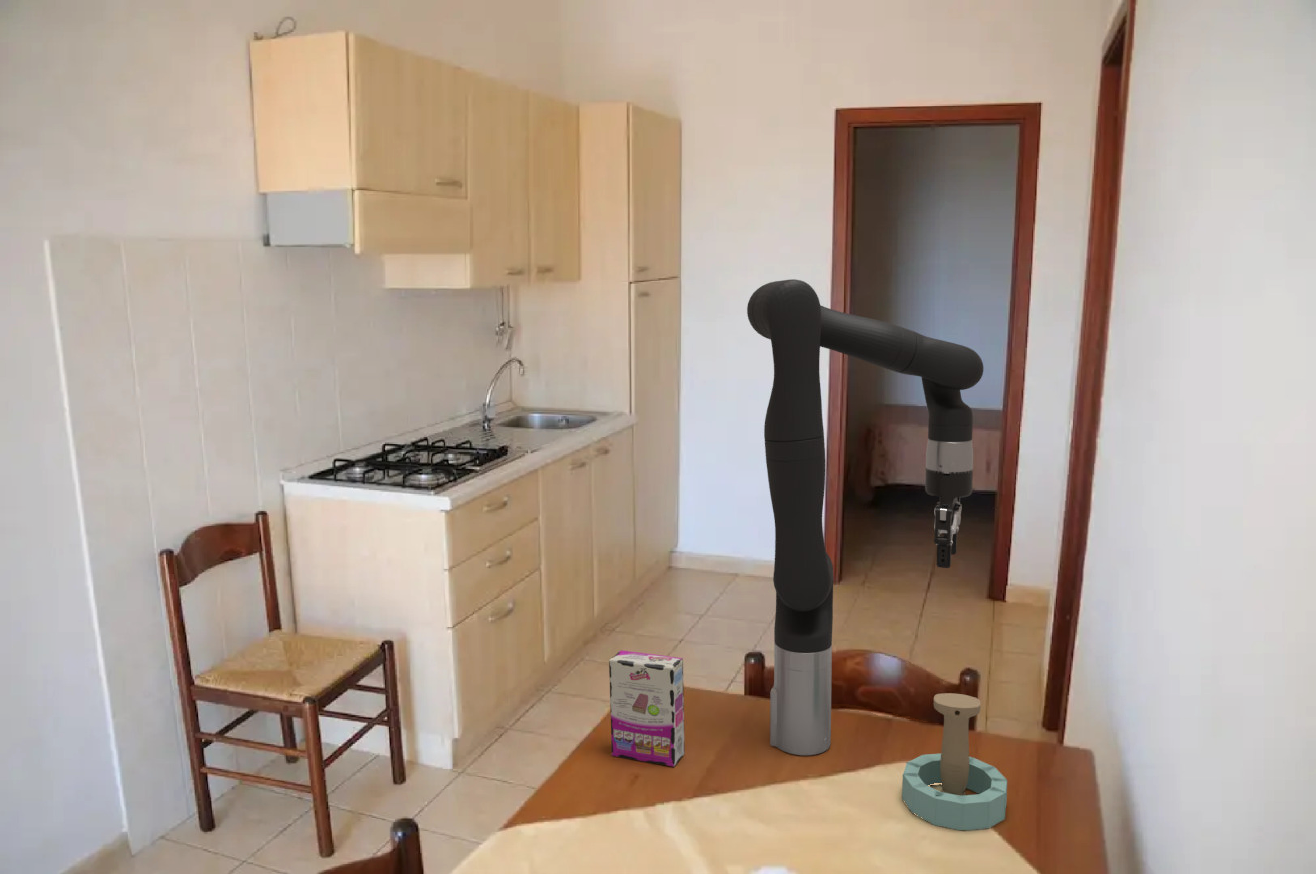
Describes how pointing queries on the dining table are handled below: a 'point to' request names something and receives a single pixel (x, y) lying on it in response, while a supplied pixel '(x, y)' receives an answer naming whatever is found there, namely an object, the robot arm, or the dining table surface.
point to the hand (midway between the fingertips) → (946, 560)
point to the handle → (955, 739)
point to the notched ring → (950, 807)
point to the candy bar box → (647, 707)
